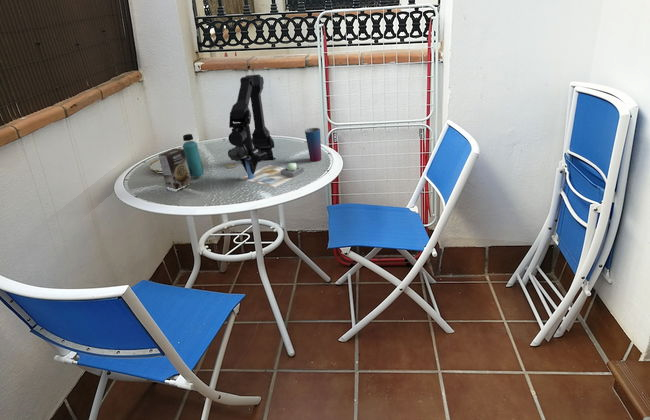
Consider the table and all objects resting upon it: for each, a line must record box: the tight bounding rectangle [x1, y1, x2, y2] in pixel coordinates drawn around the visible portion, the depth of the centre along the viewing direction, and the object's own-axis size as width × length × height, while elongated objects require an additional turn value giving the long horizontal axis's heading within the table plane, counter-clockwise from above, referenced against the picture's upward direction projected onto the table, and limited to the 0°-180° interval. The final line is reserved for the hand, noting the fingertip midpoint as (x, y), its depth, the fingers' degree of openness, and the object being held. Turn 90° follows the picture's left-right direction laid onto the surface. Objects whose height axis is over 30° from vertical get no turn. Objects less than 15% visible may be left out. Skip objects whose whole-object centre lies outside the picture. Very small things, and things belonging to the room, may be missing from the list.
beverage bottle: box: [182, 133, 205, 178], centre depth 213 cm, size 6×7×20 cm
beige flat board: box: [240, 164, 299, 188], centre depth 208 cm, size 23×20×1 cm
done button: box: [286, 162, 297, 172], centre depth 206 cm, size 4×4×3 cm
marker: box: [245, 159, 255, 179], centre depth 206 cm, size 3×3×8 cm
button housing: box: [281, 165, 305, 179], centre depth 207 cm, size 7×7×2 cm
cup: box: [304, 127, 322, 163], centre depth 217 cm, size 7×7×15 cm
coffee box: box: [158, 148, 193, 189], centre depth 205 cm, size 9×6×16 cm
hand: (250, 173), depth 207 cm, fingers closed on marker, 3 cm apart
